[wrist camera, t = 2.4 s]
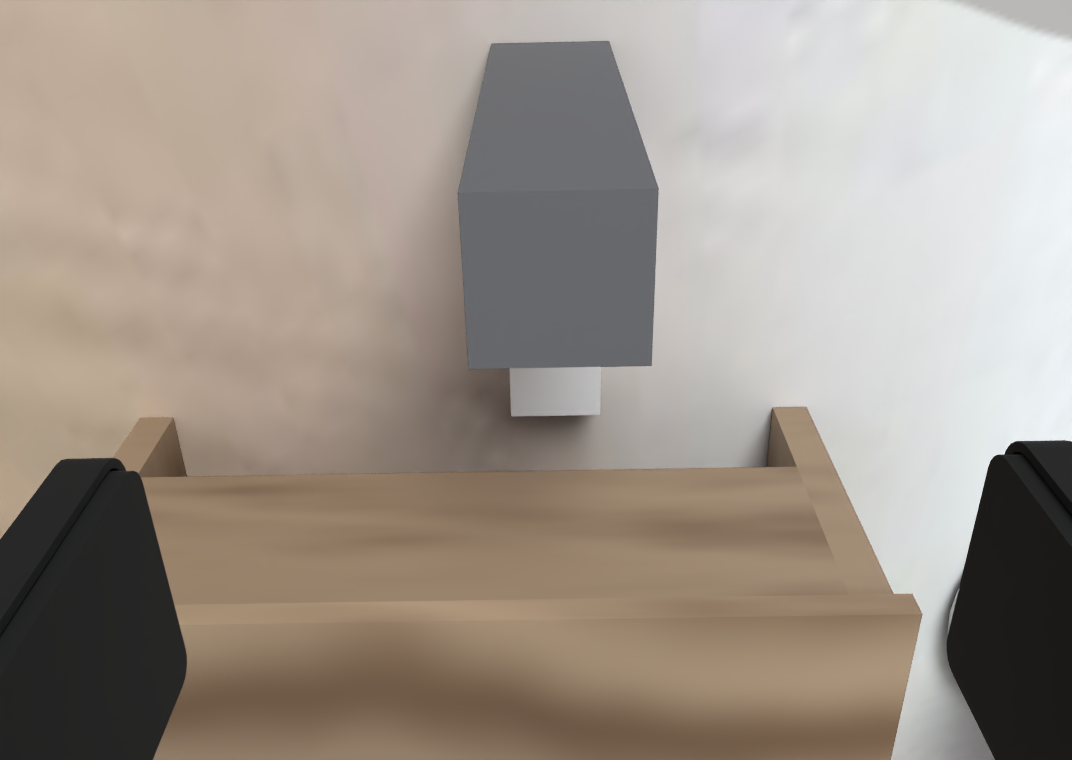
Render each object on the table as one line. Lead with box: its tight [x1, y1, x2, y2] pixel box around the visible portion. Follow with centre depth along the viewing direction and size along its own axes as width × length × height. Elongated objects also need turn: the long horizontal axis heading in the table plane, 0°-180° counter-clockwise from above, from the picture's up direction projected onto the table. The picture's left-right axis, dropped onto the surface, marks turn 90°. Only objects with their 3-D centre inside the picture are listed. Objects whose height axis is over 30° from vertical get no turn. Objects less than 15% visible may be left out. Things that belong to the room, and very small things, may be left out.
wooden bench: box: [113, 407, 922, 760], centre depth 33 cm, size 7×25×11 cm, turn 91°
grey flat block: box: [458, 41, 659, 416], centre depth 26 cm, size 12×4×14 cm, turn 1°
